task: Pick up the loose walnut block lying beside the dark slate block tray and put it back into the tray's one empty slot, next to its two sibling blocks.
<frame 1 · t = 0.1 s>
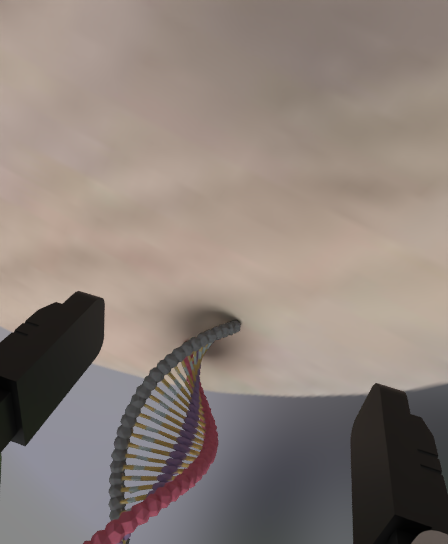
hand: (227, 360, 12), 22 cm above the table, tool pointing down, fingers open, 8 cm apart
dna model: (211, 332, 45), on the table
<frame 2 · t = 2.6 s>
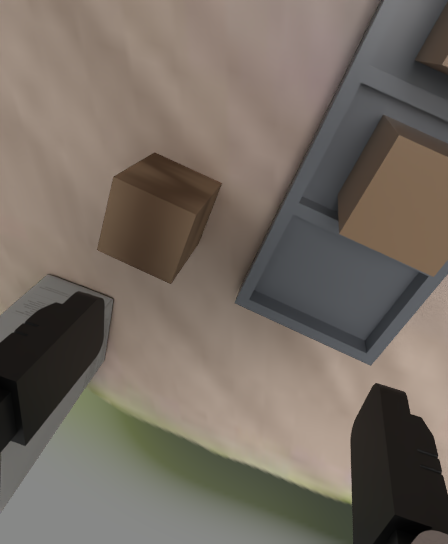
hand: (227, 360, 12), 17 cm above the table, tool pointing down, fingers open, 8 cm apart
tray: (396, 170, 24), on the table
block: (177, 199, 28), on the table
skincare box: (81, 319, 36), on the table
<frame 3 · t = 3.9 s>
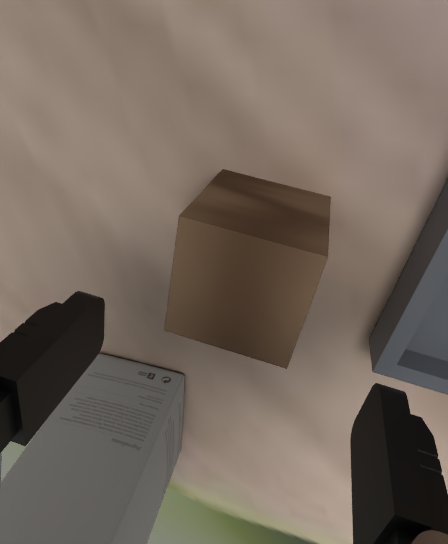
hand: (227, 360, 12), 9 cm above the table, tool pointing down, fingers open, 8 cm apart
block: (263, 231, 19), on the table
skincare box: (145, 402, 28), on the table
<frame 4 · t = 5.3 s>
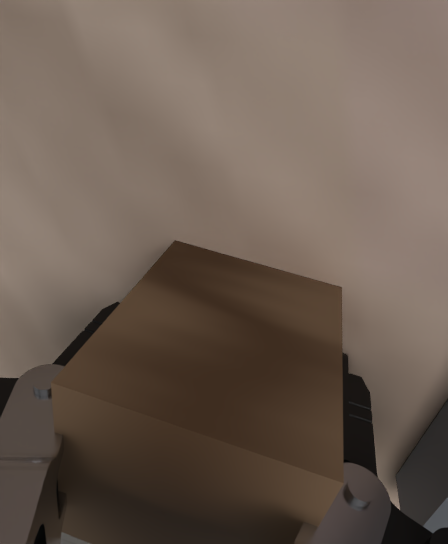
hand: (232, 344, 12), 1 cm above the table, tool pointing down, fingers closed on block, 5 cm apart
block: (239, 329, 13), on the table, touching gripper
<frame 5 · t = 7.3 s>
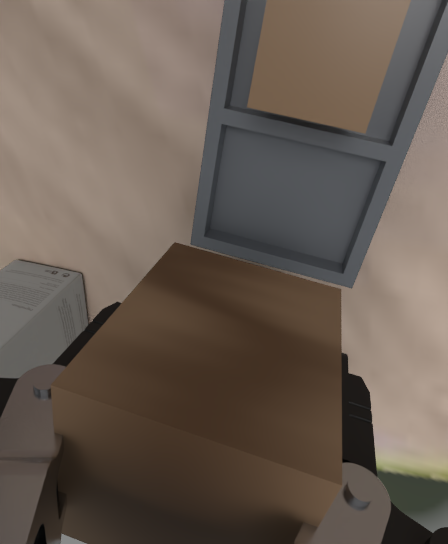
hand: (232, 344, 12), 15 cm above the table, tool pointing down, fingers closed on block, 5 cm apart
tray: (326, 51, 21), on the table
block: (238, 331, 13), point 15 cm above the table, touching gripper
skincare box: (59, 304, 35), on the table
when the fingers open (3 cm above the table, at t = 9.4 s): block drops 1 cm, resting on tray.
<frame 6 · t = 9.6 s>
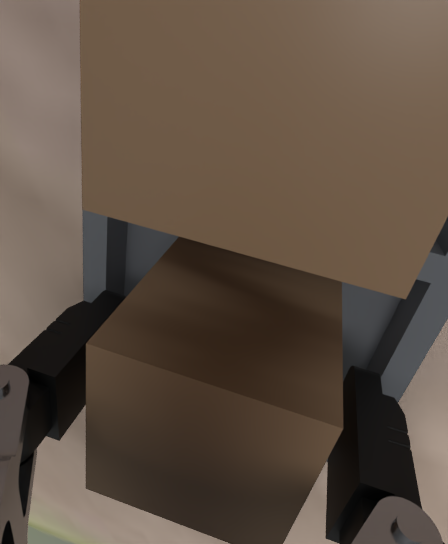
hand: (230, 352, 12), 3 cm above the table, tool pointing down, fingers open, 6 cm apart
tray: (311, 57, 11), on the table
block: (246, 311, 14), point 1 cm above the table, touching tray
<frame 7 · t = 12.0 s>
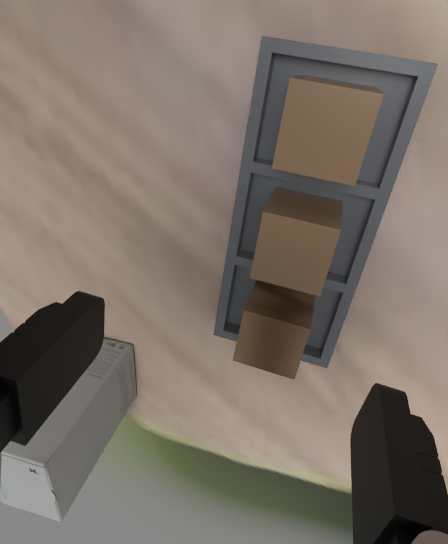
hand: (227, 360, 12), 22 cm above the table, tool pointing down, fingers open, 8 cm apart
tray: (303, 219, 32), on the table
block: (281, 304, 35), point 1 cm above the table, touching tray
skincare box: (114, 364, 47), on the table
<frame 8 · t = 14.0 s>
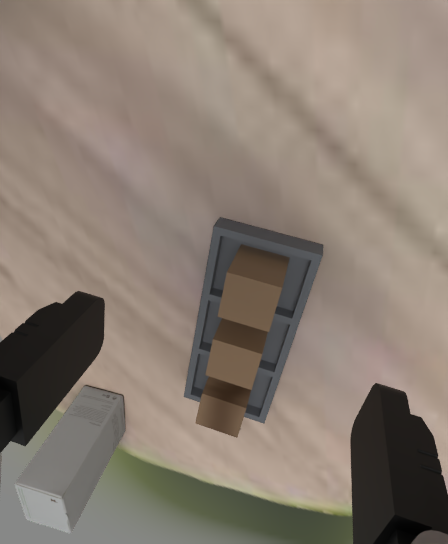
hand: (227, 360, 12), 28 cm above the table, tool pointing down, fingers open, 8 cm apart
tray: (246, 324, 46), on the table
block: (232, 378, 49), point 1 cm above the table, touching tray
skincare box: (108, 407, 60), on the table
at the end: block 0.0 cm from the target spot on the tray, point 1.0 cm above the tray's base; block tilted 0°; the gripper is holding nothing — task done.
